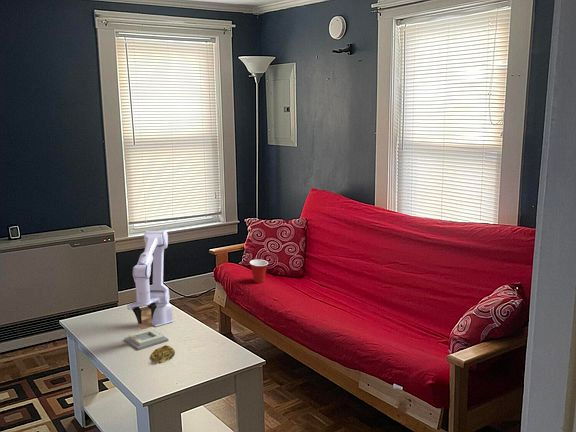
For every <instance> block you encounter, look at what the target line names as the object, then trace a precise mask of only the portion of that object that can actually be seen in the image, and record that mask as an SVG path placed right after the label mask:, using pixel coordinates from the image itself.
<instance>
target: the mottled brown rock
mask: <svg viewBox="0 0 576 432" xmlns="http://www.w3.org/2000/svg"><path fill="white" fill-rule="evenodd" d="M152 351H153V352H152V353H151V355H150V358H151V361H152V362H154V363H157V364H162V363H166V362H169V361H170V360H172V359H173V358H174V356H175V354H176V350H175V349H174V348H173V347H172V346H170V345H167V344H165V345H163V346H160V347H158V348H155V350H152ZM172 357H173V358H172Z"/></svg>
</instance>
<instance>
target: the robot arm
mask: <svg viewBox="0 0 576 432" xmlns="http://www.w3.org/2000/svg"><path fill="white" fill-rule="evenodd" d="M143 241H144V244H145V247H144V251H143V252H142V253H141V254H140V255H139V258H138V261H137V264H136V265H134V266H133V267H132V277H133V280H134V281H133V282H134V283H135V293H136V301H134V302H132V303H129V304H127V305H126V309H127V310H128V311H133V313H134V315H135V318H136V320H137V324H138V323H139V324H141V312H142V310H141V309H140V308H142V307H148V308H150V309H151V317H152V326H154V327H160V326H164V325H167V324H170V323H174V318H173V306H172V305H171V303H170V289H169V287H168V286H166V285H165V284H164V256H165V255H164V254H165V249H167V248H168V244H169V234H168V232H167V231H166V230H146V231H145V232H144V235H143ZM151 272H152V274H151ZM151 275H152V284H151V285H150V277H151Z"/></svg>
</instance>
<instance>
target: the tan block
mask: <svg viewBox="0 0 576 432" xmlns="http://www.w3.org/2000/svg"><path fill="white" fill-rule="evenodd" d="M139 308H140V309H141V310H142V312H141V324H139V323H138V322H137V327H138V328H140V329H142V330H144V329H148V328H152V327H153V325H152V317H151V309H150V308H148V307H147V306H142V307H139Z"/></svg>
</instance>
